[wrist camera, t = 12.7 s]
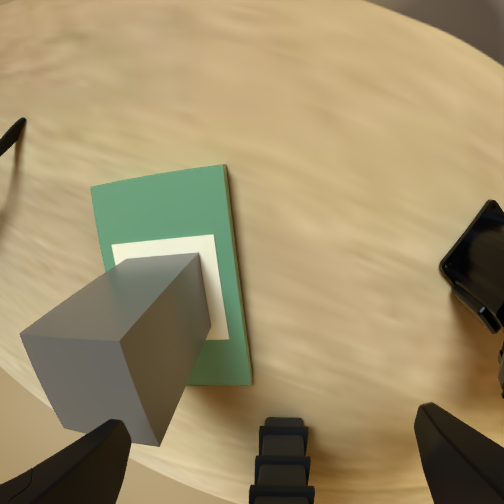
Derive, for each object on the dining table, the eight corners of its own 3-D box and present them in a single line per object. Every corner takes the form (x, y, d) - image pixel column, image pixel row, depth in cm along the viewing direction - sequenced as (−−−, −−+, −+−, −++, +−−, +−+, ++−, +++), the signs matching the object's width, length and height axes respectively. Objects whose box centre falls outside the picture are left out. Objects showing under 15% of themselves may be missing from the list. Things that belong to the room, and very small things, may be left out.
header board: (225, 164, 19) (208, 164, 14) (252, 375, 23) (245, 418, 18) (99, 185, 20) (57, 193, 16) (142, 373, 24) (119, 410, 19)
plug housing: (126, 258, 20) (19, 333, 10) (198, 252, 19) (119, 340, 9) (142, 327, 21) (63, 427, 11) (211, 326, 21) (159, 446, 11)
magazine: (259, 508, 26) (243, 603, 11) (264, 402, 28) (247, 475, 14) (294, 509, 26) (297, 604, 11) (303, 402, 28) (320, 477, 13)
